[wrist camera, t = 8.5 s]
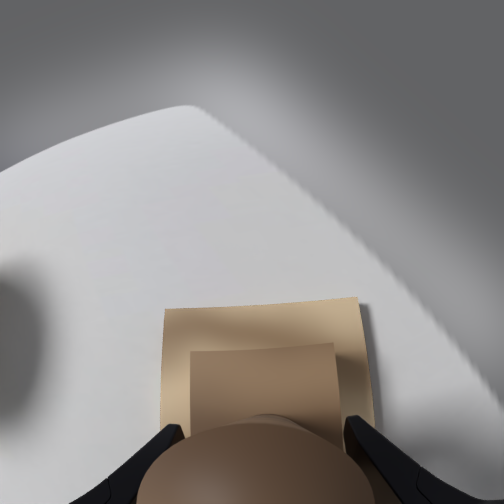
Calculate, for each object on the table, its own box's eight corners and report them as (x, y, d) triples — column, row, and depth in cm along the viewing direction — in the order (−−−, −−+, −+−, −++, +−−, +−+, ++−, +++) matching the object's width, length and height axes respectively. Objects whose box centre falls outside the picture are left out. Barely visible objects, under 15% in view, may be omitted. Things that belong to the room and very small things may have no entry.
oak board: (367, 571, 7) (371, 577, 6) (179, 579, 8) (175, 585, 7) (353, 302, 18) (357, 296, 17) (170, 314, 18) (165, 308, 17)
